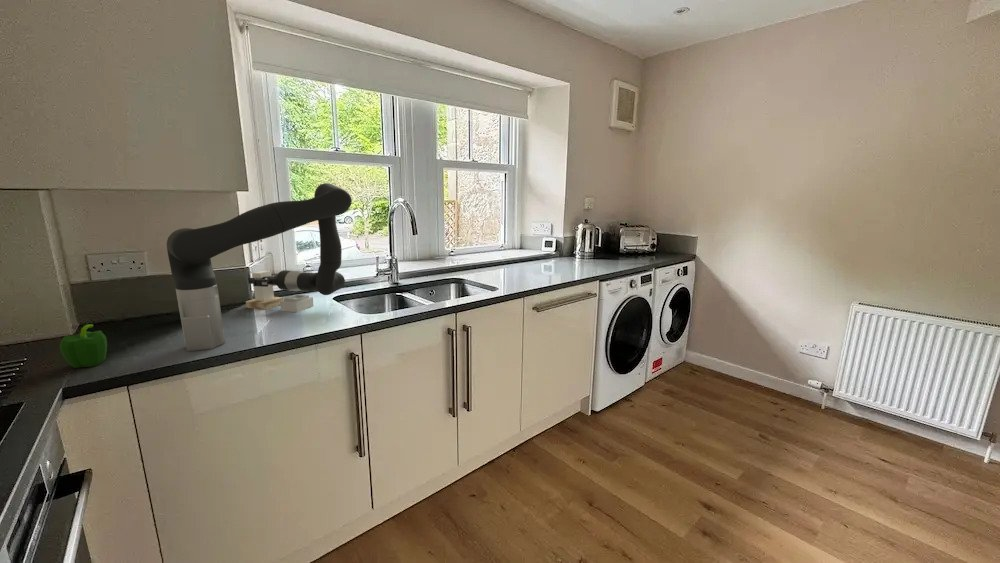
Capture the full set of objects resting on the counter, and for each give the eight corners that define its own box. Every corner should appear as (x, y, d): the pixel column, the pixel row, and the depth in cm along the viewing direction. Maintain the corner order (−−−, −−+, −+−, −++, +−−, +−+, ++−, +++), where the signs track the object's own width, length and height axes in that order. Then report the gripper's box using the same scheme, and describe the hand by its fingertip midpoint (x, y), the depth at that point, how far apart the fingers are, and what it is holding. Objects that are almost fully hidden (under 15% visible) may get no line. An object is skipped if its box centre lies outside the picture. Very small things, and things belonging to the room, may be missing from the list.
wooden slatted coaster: (283, 303, 158) (283, 297, 157) (265, 309, 149) (264, 303, 149) (265, 301, 160) (264, 296, 159) (246, 307, 151) (245, 301, 151)
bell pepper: (79, 373, 95) (70, 333, 92) (57, 369, 97) (47, 330, 95) (121, 359, 102) (113, 323, 100) (99, 356, 105) (91, 320, 103)
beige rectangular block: (296, 312, 146) (295, 300, 145) (281, 310, 148) (279, 299, 147) (313, 305, 154) (312, 294, 153) (298, 304, 156) (297, 293, 155)
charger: (263, 301, 151) (260, 273, 149) (255, 300, 152) (251, 272, 150) (274, 298, 156) (271, 271, 154) (266, 297, 157) (262, 270, 155)
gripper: (305, 267, 155) (271, 266, 159) (277, 274, 141) (241, 272, 145) (307, 286, 156) (273, 284, 160) (279, 294, 143) (243, 291, 147)
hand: (258, 278), depth 153 cm, fingers open, 8 cm apart
